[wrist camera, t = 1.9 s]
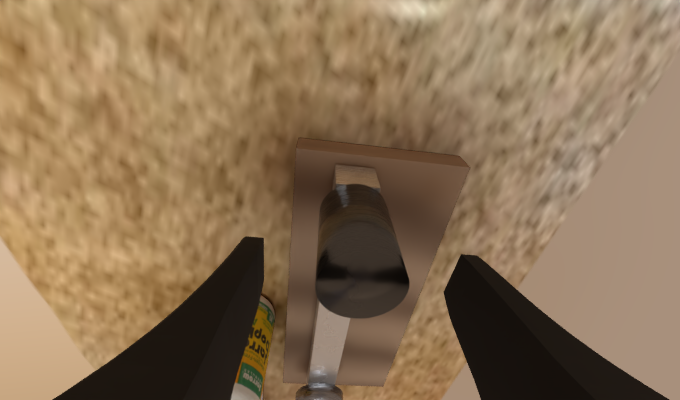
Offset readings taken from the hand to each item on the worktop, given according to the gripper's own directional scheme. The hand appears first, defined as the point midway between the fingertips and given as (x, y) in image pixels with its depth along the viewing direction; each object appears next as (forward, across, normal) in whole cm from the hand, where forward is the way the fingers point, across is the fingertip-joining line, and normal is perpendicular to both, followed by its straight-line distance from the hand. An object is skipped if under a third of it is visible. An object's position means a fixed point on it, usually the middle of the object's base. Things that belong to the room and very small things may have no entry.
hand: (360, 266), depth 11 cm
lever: (+6, 0, +9) cm, 10 cm away
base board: (+7, -2, +9) cm, 12 cm away
